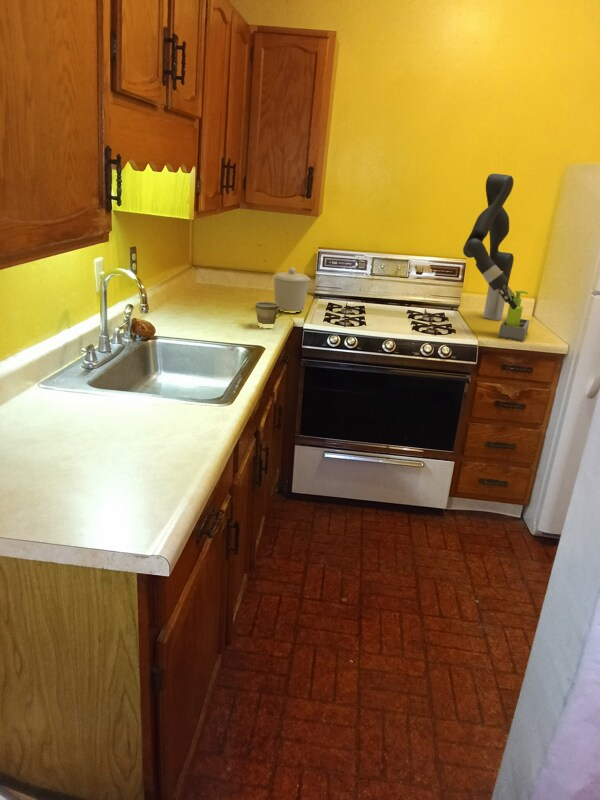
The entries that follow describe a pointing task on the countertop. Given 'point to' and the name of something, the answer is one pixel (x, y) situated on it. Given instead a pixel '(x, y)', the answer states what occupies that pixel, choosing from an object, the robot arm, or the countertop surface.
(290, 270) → the canister
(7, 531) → the countertop surface
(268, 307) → the ceramic cup
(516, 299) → the soap dispenser
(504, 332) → the caddy
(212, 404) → the countertop surface
